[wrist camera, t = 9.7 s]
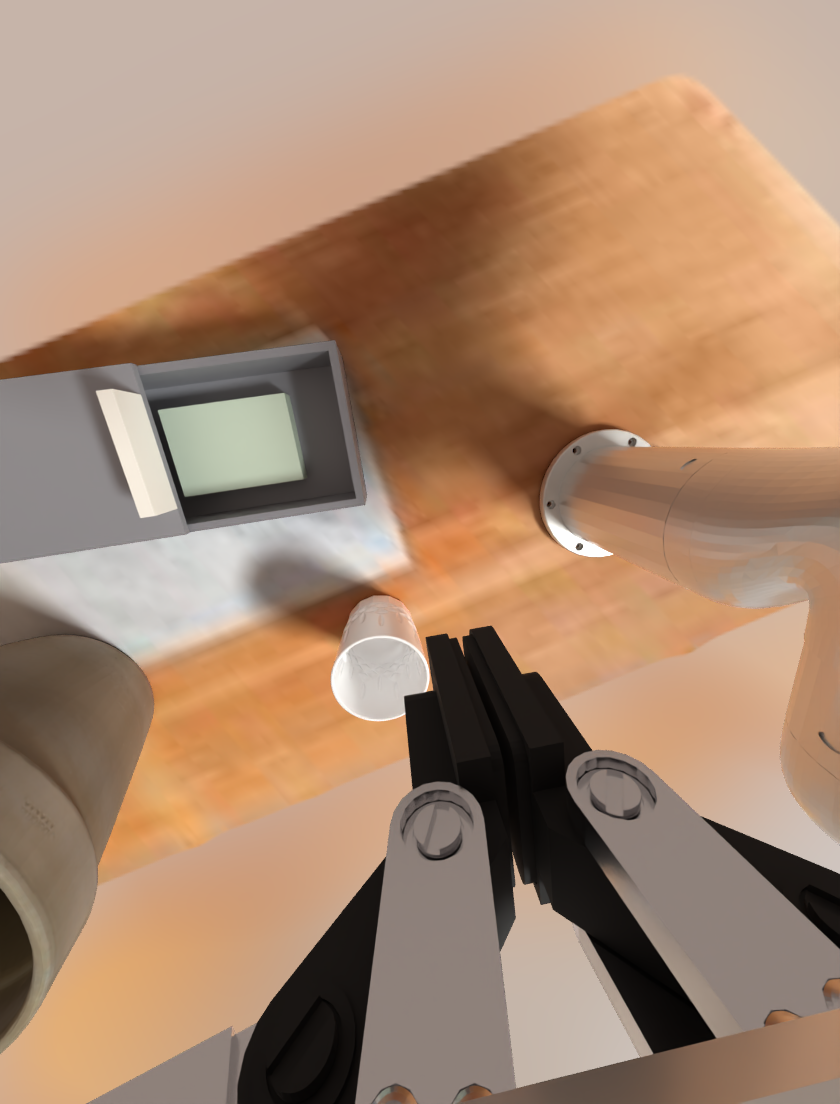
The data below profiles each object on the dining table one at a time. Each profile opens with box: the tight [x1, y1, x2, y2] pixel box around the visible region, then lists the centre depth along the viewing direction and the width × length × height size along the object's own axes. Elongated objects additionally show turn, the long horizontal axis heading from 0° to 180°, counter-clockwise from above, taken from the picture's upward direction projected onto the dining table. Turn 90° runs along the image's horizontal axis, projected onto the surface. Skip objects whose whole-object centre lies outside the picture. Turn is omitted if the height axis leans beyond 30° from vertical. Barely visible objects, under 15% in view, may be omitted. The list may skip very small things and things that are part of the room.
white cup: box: [331, 595, 429, 721], centre depth 36 cm, size 8×8×10 cm
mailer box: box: [137, 340, 367, 532], centre depth 32 cm, size 20×12×6 cm, turn 98°
